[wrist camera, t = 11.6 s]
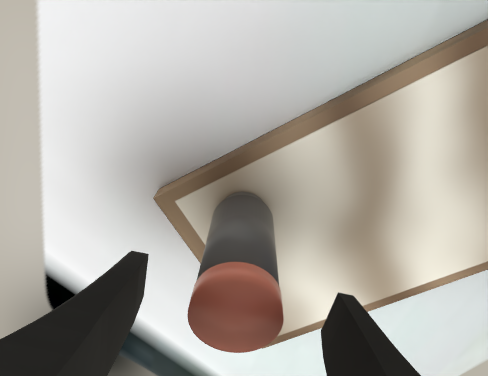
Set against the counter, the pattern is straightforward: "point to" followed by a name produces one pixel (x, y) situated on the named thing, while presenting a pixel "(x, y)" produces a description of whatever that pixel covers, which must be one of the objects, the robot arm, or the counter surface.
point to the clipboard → (365, 186)
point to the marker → (238, 278)
